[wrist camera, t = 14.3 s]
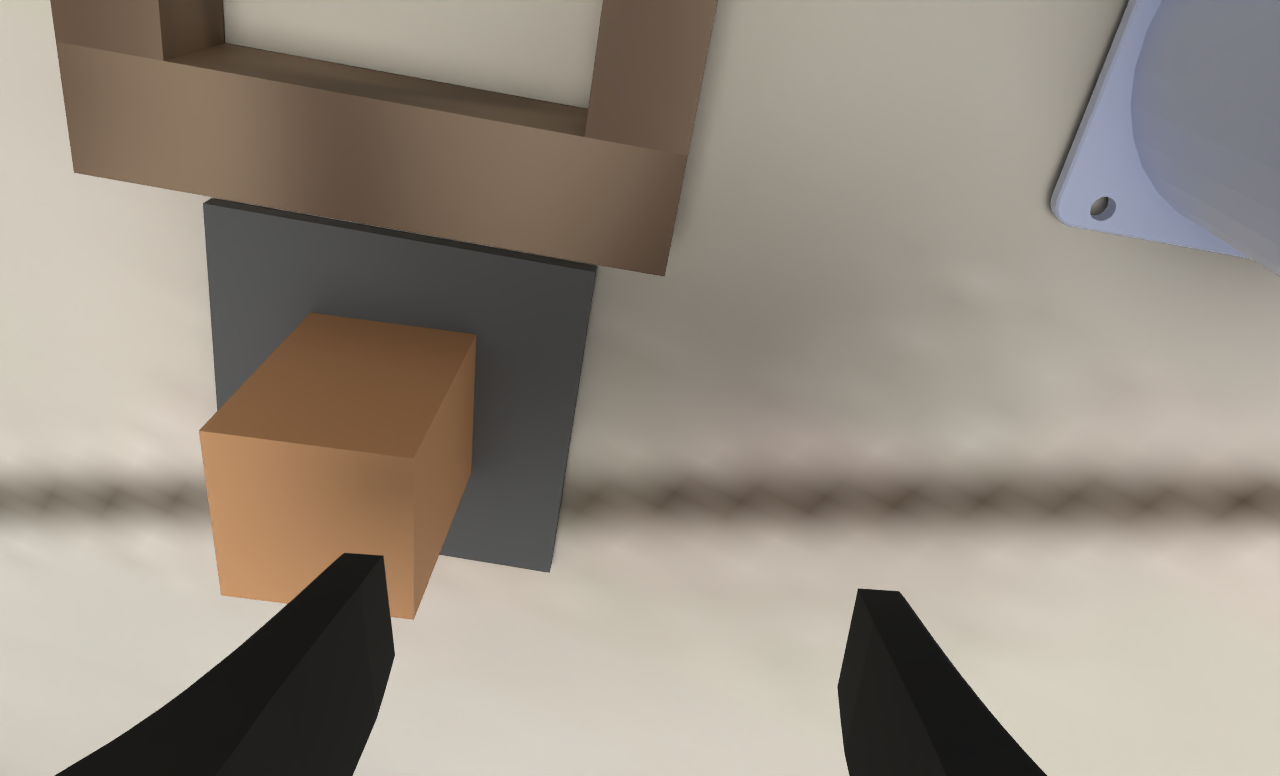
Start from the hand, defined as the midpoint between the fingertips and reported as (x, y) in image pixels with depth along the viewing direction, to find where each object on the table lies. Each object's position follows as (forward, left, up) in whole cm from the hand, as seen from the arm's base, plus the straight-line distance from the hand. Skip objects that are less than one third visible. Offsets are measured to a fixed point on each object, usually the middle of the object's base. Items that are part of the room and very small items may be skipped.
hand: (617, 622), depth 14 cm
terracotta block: (+6, +2, -9) cm, 11 cm away
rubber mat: (+6, +2, -9) cm, 11 cm away
